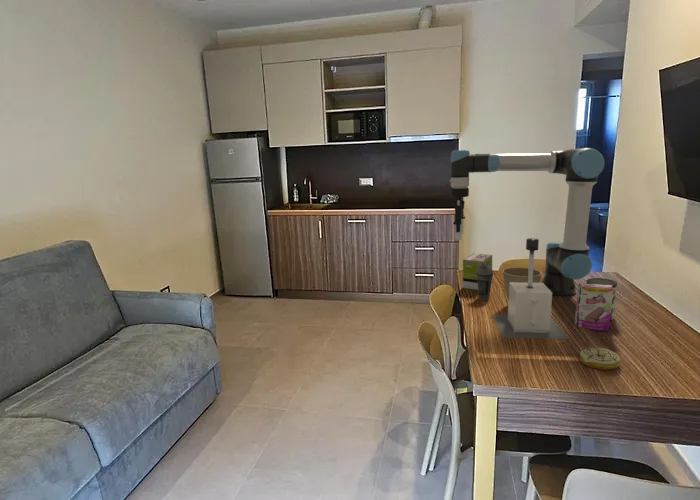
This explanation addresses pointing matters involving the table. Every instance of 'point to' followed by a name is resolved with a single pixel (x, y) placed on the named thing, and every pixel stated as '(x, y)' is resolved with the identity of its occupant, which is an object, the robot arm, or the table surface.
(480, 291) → the beverage cup
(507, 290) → the plant pot
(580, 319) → the candy bar box
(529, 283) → the plunger
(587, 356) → the decorated donut
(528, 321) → the white block with hole
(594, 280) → the coffee can
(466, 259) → the tea box
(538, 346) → the table surface
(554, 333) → the charcoal mat
